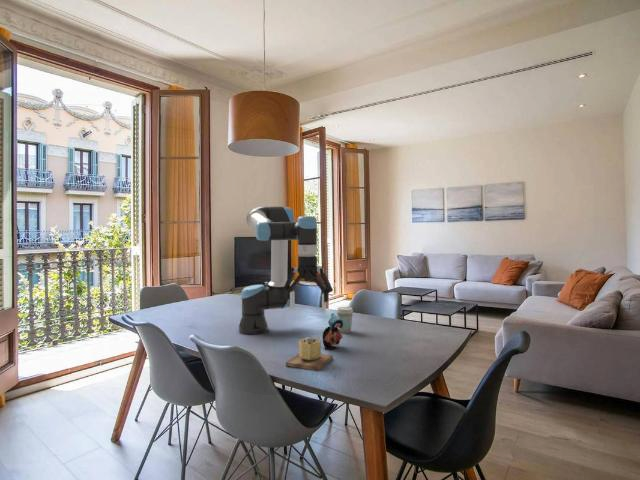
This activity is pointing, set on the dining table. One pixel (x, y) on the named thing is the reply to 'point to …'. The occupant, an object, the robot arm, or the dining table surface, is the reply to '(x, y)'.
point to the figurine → (332, 333)
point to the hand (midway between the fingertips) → (307, 309)
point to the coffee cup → (345, 318)
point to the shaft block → (309, 364)
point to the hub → (310, 349)
